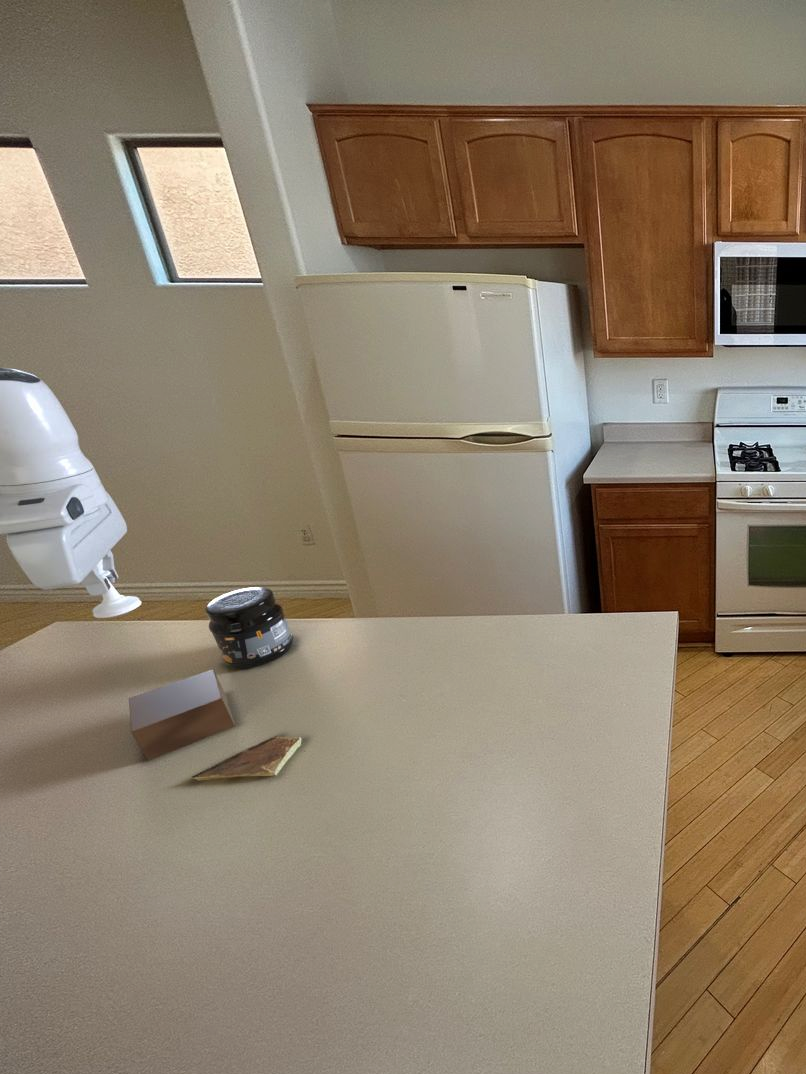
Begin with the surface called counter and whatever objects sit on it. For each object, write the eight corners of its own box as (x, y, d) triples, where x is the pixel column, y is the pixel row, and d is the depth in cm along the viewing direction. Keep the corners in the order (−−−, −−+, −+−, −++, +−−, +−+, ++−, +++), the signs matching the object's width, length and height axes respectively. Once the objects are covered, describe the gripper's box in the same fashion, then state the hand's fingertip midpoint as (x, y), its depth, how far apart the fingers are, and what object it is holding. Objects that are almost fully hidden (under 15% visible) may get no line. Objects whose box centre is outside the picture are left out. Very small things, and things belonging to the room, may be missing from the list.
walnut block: (148, 763, 80) (130, 732, 78) (145, 727, 87) (128, 698, 84) (236, 727, 87) (221, 698, 84) (226, 697, 93) (213, 668, 91)
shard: (194, 785, 77) (189, 775, 77) (234, 744, 84) (230, 735, 83) (276, 780, 78) (272, 771, 77) (308, 740, 85) (305, 731, 84)
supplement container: (227, 650, 105) (203, 596, 100) (295, 632, 111) (275, 579, 106) (224, 679, 97) (198, 622, 92) (297, 658, 103) (276, 602, 98)
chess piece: (91, 622, 76) (55, 558, 72) (95, 608, 80) (60, 545, 75) (140, 609, 79) (108, 547, 75) (142, 596, 83) (111, 536, 78)
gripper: (55, 477, 79) (101, 563, 85) (-21, 527, 63) (42, 628, 69) (116, 470, 82) (156, 554, 87) (57, 516, 66) (111, 614, 72)
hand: (105, 587), depth 78 cm, fingers closed on chess piece
